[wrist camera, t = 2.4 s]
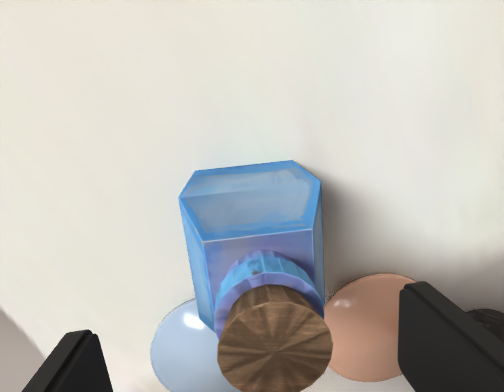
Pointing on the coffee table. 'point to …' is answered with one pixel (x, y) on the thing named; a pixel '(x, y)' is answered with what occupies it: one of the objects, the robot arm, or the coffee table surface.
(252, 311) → the perfume bottle
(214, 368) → the pale blue dome
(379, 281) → the peach glossy round dome
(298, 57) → the coffee table surface
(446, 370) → the robot arm
